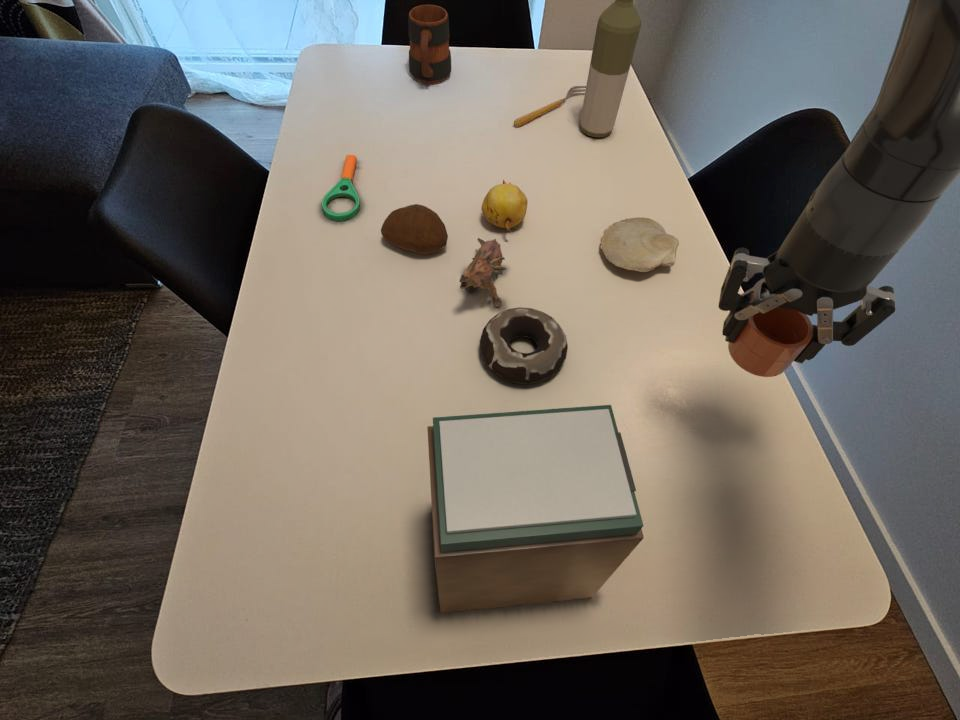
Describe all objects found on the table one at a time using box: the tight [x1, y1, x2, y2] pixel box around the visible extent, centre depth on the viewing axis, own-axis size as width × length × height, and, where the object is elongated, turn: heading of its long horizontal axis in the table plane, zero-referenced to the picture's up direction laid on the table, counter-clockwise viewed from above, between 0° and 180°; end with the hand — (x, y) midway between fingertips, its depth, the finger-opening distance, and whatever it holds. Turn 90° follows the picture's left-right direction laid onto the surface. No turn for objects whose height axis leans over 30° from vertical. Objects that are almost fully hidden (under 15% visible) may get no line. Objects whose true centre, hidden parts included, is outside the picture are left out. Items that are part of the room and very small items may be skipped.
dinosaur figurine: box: [459, 237, 507, 309], centre depth 81 cm, size 14×6×9 cm, turn 173°
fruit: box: [481, 179, 528, 233], centre depth 90 cm, size 7×7×10 cm
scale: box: [432, 404, 644, 552], centre depth 45 cm, size 15×10×3 cm
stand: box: [427, 425, 644, 614], centre depth 54 cm, size 16×11×20 cm
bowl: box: [727, 307, 814, 378], centre depth 57 cm, size 6×6×5 cm
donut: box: [479, 306, 569, 385], centre depth 76 cm, size 12×12×4 cm
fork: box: [513, 85, 586, 128], centre depth 111 cm, size 2×2×20 cm
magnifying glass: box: [321, 154, 361, 222], centre depth 95 cm, size 15×6×2 cm, turn 179°
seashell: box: [600, 217, 680, 273], centre depth 88 cm, size 12×12×3 cm
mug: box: [407, 4, 452, 85], centre depth 112 cm, size 9×12×12 cm
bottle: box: [579, 0, 642, 138], centre depth 96 cm, size 7×7×30 cm
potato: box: [380, 203, 449, 255], centre depth 86 cm, size 7×10×7 cm
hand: (763, 345), depth 58 cm, fingers closed on bowl, 6 cm apart
